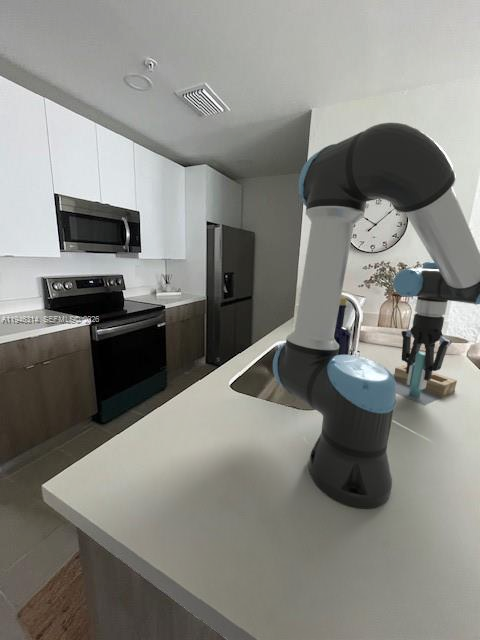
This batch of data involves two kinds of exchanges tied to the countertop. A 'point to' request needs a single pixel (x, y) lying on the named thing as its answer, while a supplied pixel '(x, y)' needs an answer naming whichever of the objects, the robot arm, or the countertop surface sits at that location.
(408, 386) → the mat
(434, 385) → the block
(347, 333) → the bottle
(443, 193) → the robot arm
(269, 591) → the countertop surface
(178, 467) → the countertop surface
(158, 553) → the countertop surface
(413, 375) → the peg
